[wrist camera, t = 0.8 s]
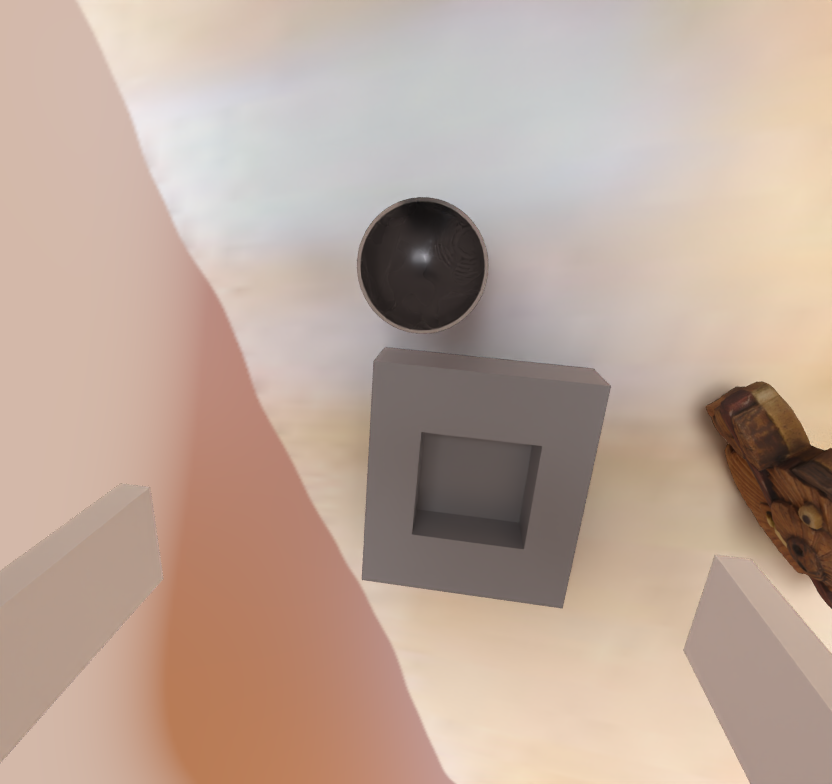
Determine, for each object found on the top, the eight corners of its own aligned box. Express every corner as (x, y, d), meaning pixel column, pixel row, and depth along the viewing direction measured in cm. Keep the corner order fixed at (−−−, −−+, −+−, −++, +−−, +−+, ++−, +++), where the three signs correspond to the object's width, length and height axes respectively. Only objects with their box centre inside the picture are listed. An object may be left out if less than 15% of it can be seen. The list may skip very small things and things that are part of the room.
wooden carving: (660, 398, 31) (743, 465, 22) (726, 358, 30) (844, 410, 21) (781, 571, 34) (901, 698, 25) (845, 541, 33) (997, 661, 23)
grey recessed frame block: (384, 347, 32) (373, 360, 28) (593, 368, 31) (610, 385, 27) (372, 545, 37) (361, 579, 33) (552, 570, 36) (562, 608, 32)
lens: (395, 208, 30) (359, 192, 20) (487, 215, 29) (496, 202, 20) (389, 301, 31) (354, 327, 22) (476, 310, 31) (479, 339, 21)
